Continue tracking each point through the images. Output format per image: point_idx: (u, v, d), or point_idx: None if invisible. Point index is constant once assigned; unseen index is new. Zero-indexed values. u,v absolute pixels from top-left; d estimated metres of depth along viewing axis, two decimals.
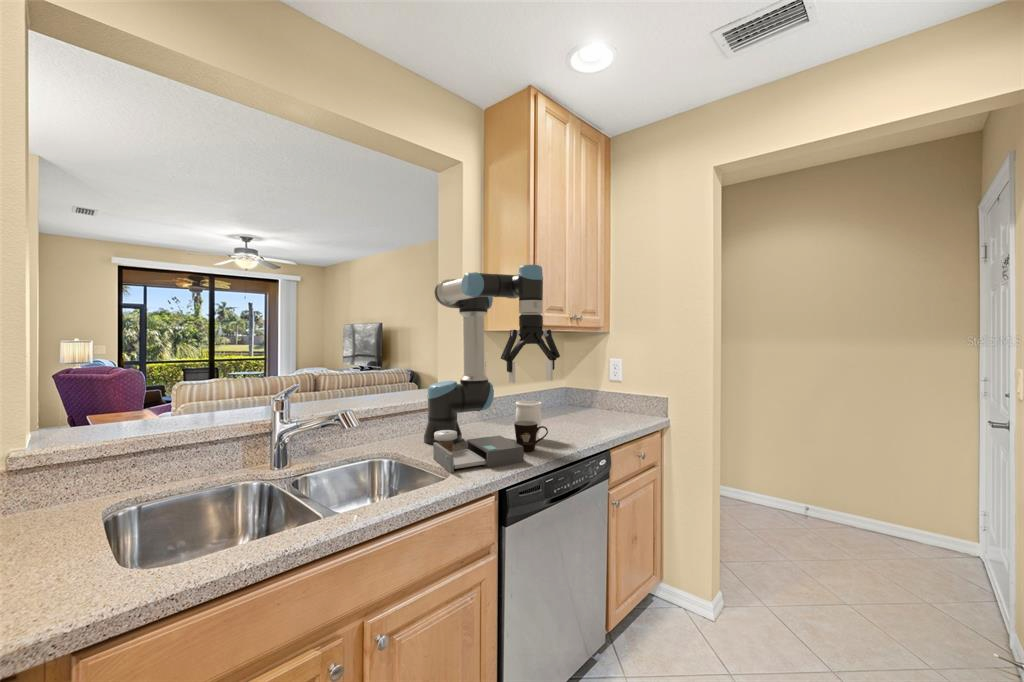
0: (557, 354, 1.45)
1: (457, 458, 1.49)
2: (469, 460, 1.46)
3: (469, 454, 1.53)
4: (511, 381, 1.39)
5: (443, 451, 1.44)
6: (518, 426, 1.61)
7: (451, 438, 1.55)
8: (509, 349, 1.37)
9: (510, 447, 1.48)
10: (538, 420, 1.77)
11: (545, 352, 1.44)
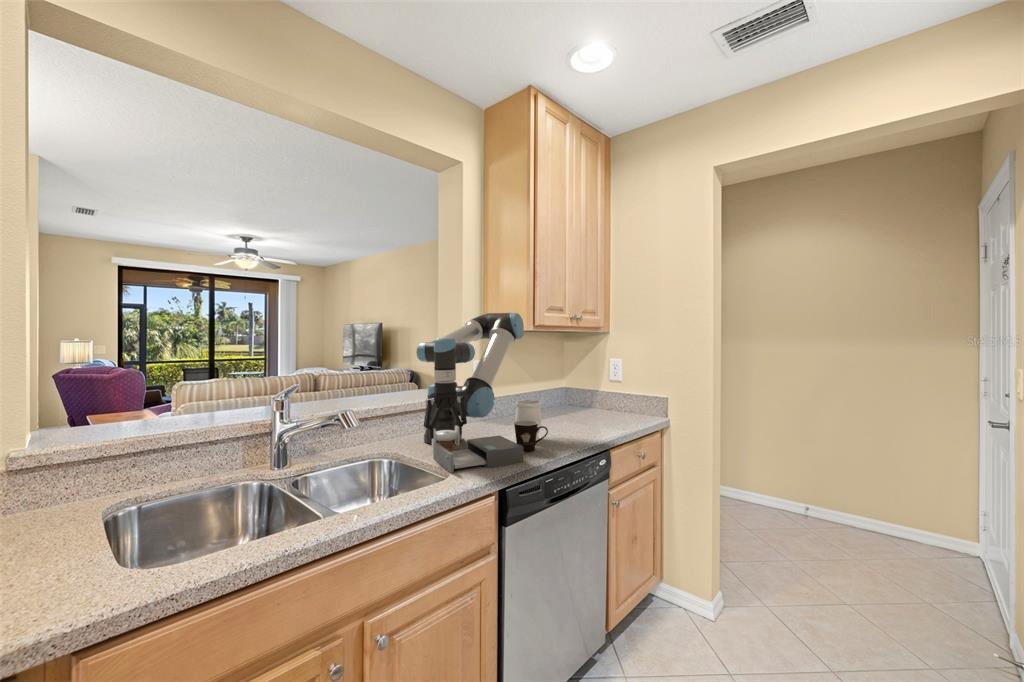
0: (464, 421, 1.60)
1: (457, 458, 1.49)
2: (469, 460, 1.46)
3: (469, 454, 1.53)
4: None
5: (443, 451, 1.44)
6: (518, 426, 1.61)
7: (451, 438, 1.55)
8: (428, 418, 1.54)
9: (510, 447, 1.48)
10: (538, 420, 1.77)
11: (454, 417, 1.60)
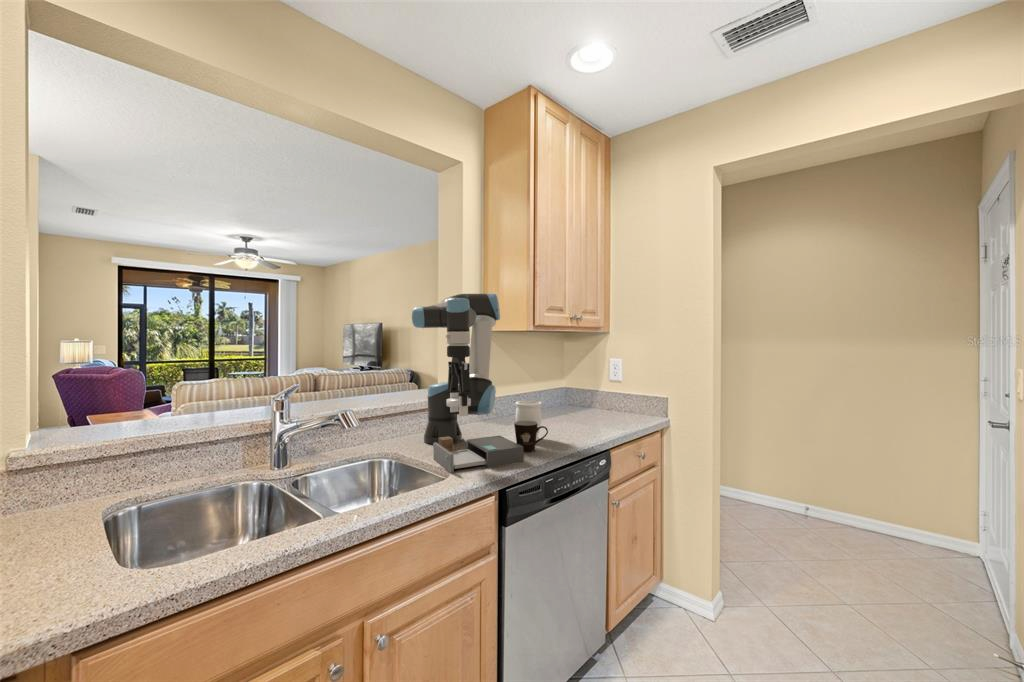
0: (462, 390, 1.42)
1: (457, 458, 1.49)
2: (469, 460, 1.46)
3: (469, 454, 1.53)
4: None
5: (443, 451, 1.44)
6: (518, 426, 1.61)
7: (448, 404, 1.46)
8: (448, 380, 1.54)
9: (510, 447, 1.48)
10: (538, 420, 1.77)
11: None
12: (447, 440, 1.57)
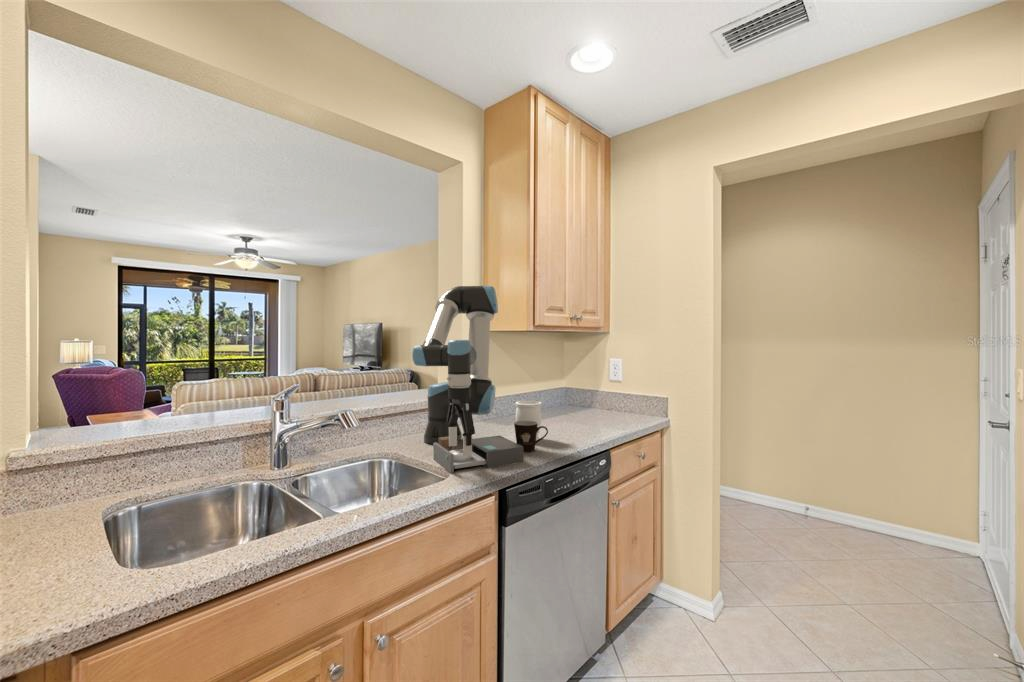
0: (466, 431, 1.40)
1: None
2: (469, 460, 1.46)
3: None
4: None
5: (443, 451, 1.44)
6: (518, 426, 1.61)
7: None
8: (447, 415, 1.55)
9: (510, 447, 1.48)
10: (538, 420, 1.77)
11: None
12: (447, 440, 1.57)
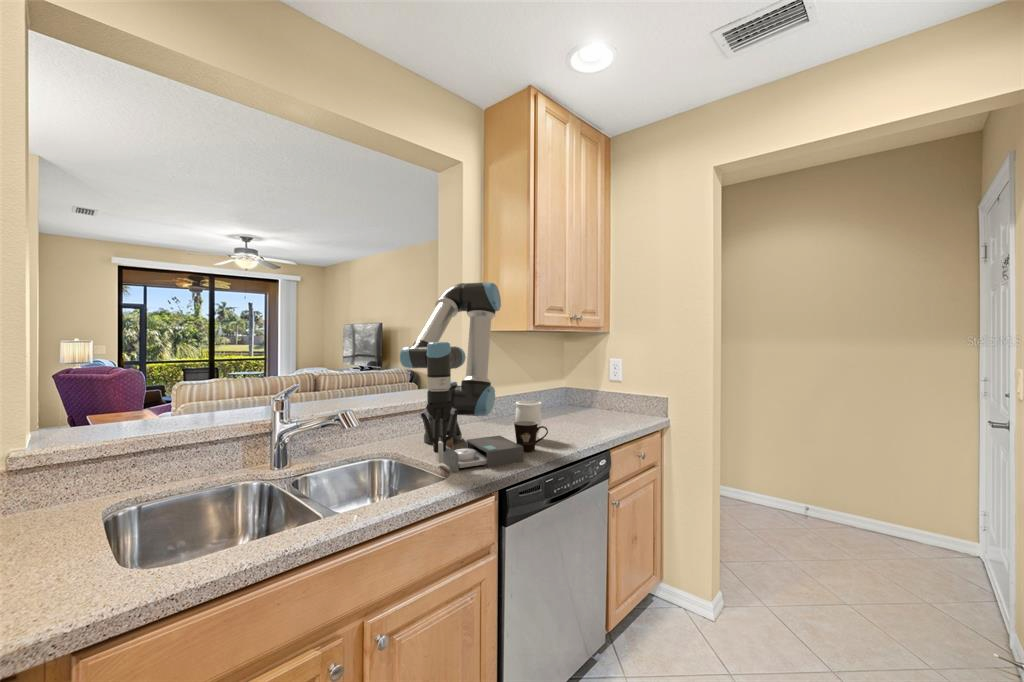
0: (450, 435, 1.46)
1: None
2: (474, 459, 1.47)
3: None
4: (437, 461, 1.45)
5: (448, 450, 1.45)
6: (518, 426, 1.61)
7: None
8: (429, 431, 1.43)
9: (510, 447, 1.48)
10: (538, 420, 1.77)
11: (441, 430, 1.46)
12: (447, 440, 1.57)
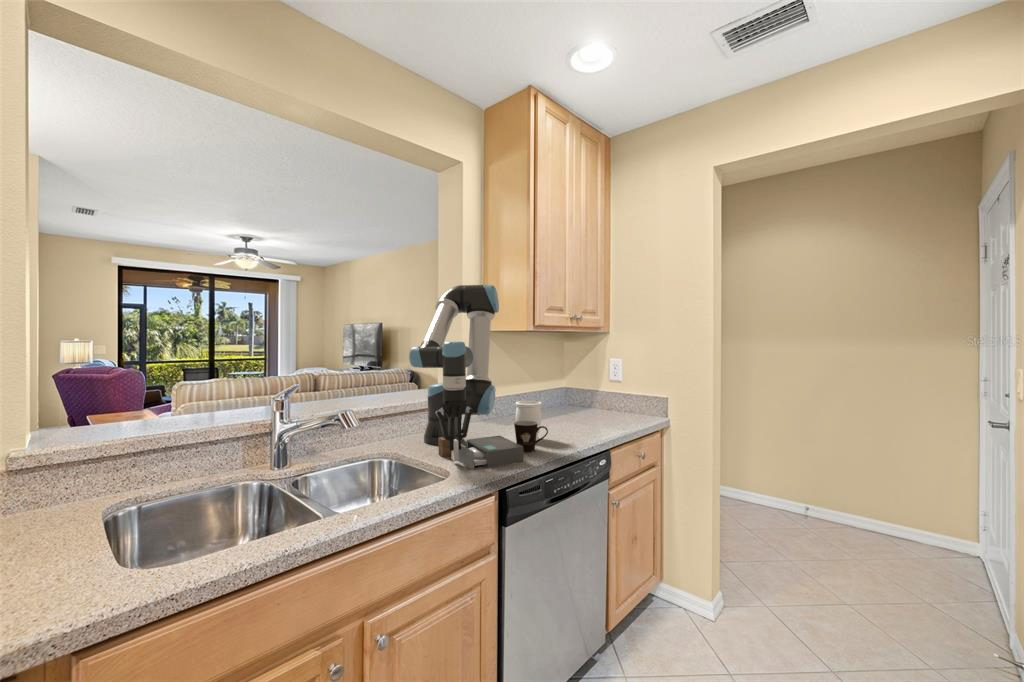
0: (465, 434, 1.48)
1: None
2: None
3: None
4: (453, 458, 1.47)
5: (463, 448, 1.47)
6: (518, 426, 1.61)
7: None
8: (444, 429, 1.45)
9: (510, 447, 1.48)
10: (538, 420, 1.77)
11: (456, 429, 1.48)
12: (447, 440, 1.57)
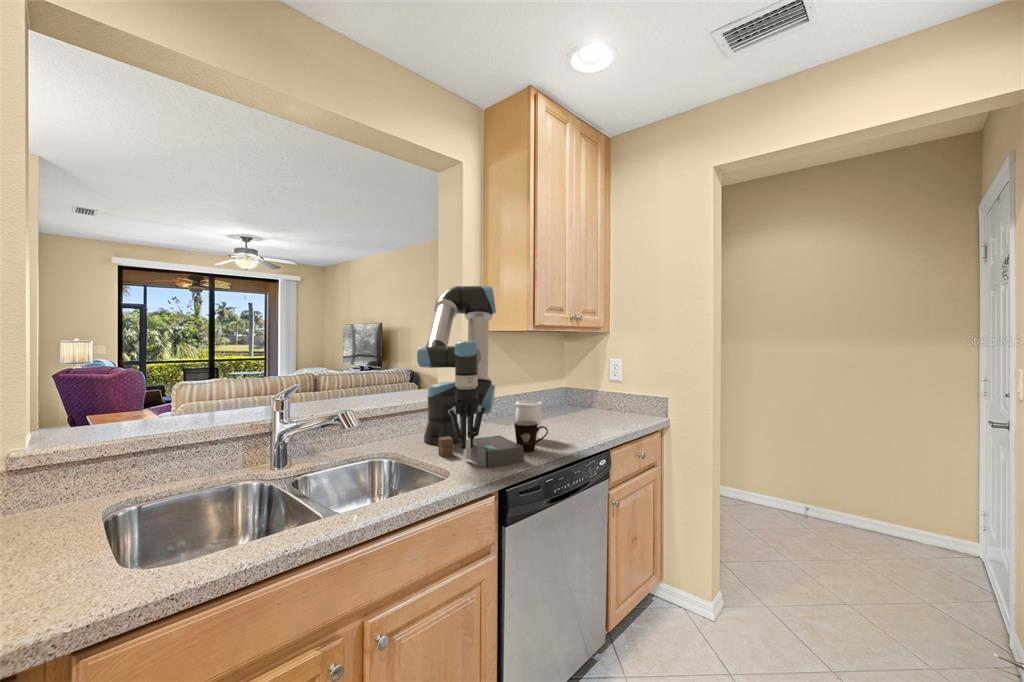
0: (476, 432, 1.50)
1: None
2: None
3: None
4: (465, 457, 1.49)
5: (475, 447, 1.49)
6: (518, 426, 1.61)
7: None
8: (457, 428, 1.47)
9: (510, 447, 1.48)
10: (538, 420, 1.77)
11: (468, 427, 1.50)
12: (447, 440, 1.57)
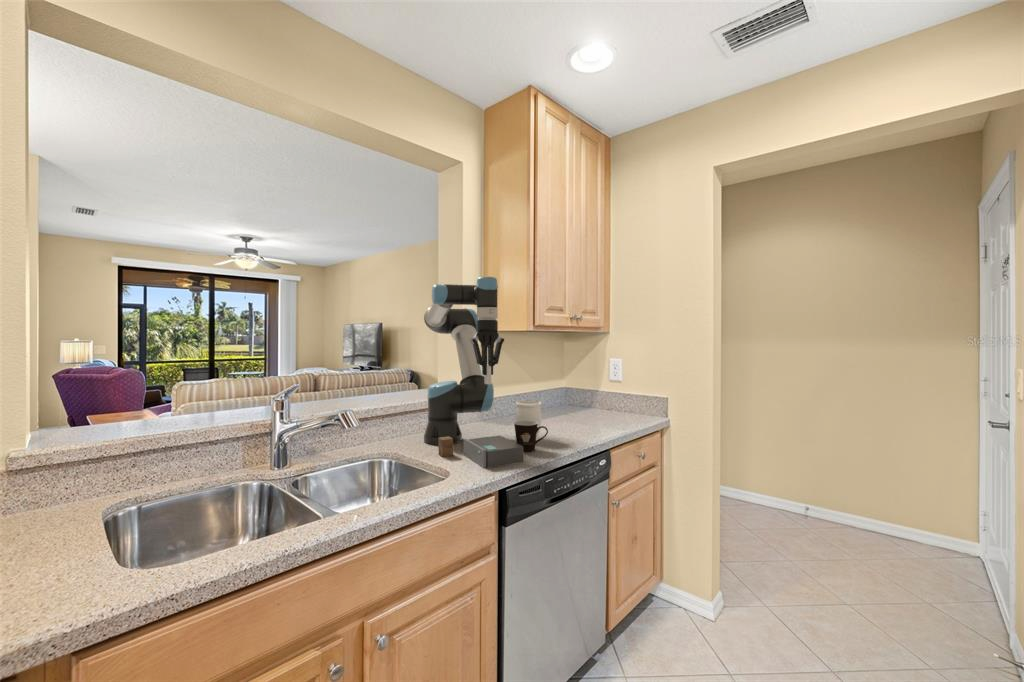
0: (496, 360, 1.65)
1: None
2: None
3: None
4: (486, 382, 1.64)
5: (475, 447, 1.49)
6: (518, 426, 1.61)
7: None
8: (479, 355, 1.61)
9: (510, 447, 1.48)
10: (538, 420, 1.77)
11: (489, 356, 1.65)
12: (447, 440, 1.57)
